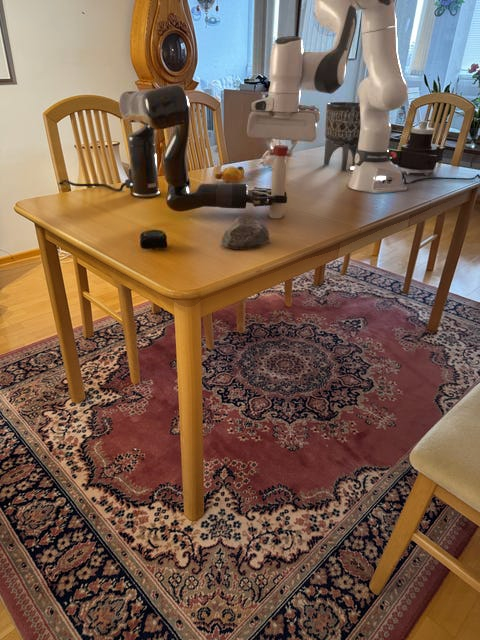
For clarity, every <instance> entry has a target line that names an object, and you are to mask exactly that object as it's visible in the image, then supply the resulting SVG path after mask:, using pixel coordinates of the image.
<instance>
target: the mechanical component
mask: <svg viewBox="0 0 480 640" xmlns="http://www.w3.org/2000/svg"><path fill="white" fill-rule="evenodd" d="M428 122H429V121H427V120H420V124H419V126H413V127H411V129H410V134H409V135H410V136H409V139H408V143H407V144H402V145H400V146H401V147H400V149H394V148H388V151H390V152H395V154H397V156H396V157H395V158H392V157H390V161H391V162H392V163H393V164H394V165H395V166H396V167H397V168H398V169H399V170H400V171H401V172H406V175H411V173H413V174H423V175H424V176H428V175H429V174H430V173H432V172H433V171H434V170H435V169H436V166H437V163H439V162H442V161H443V157H444V155H445V150H446V149H445V148H446V147H445V146H441V145H440V144H437V143H432V141H433V136H434V133H435V129H434V128H433V127H428Z"/></svg>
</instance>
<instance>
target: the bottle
mask: <svg viewBox="0 0 480 640" xmlns="http://www.w3.org/2000/svg"><path fill="white" fill-rule="evenodd" d="M286 161H287V160H286V156H276V159H275V161H274V165H273V168H272V171H271V187H270V189H271V195H282V196H284V194H285V192H286V181H287V162H286ZM284 205H285V203H274V204H272V206H269V217H270V218H271V219H282V218H283V217H284Z"/></svg>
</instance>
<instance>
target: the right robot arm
mask: <svg viewBox="0 0 480 640" xmlns="http://www.w3.org/2000/svg"><path fill="white" fill-rule="evenodd" d="M313 2H314V3H313V11H314V16H315V19H316V20H317V22H318V23H319V24H320V26H322V28H324V29H325V30H327V31H330V32H333V33H334V34H336V35H335V38H334V41H333V45H332V48H331V49H329V50H327V51H306V50H305V49H304V48H303V47H304V46H303V39H302V38H301V37H300V36H298V35H297V36H296V35H288V36H281V37H278V38H276V39H275V40H274V41H273V44H272V47H271V54H270V60H269V61H270V62H269V81H270V84H269V88H268V96H267V97H262V98H261V99H258V100H255V101H253V102H252V103H251V110H252V111H251V112H250V113H249V115H248V119H247V127H246V135H247V136H248V138H250V139H251V138H252V139H264V140H265V144H266V146H267V149H268V150H269V155H274V148H272V145H271V143H270V142H272V139H274V140H276V139H278V140H280V141H290V144H291V147H290V149H289V148H288V150H287V154H286V156H285V157H287V158H288V157H289V158H292V157H293V152H294V151H293V150H294V149H295V147H296V146H297V144H298V142H306V143H307V142H308V143H313V142H314V141H316V139H317V138H318V123H319V121H320V118H321V117H320V116H321V111H320V109H319V108H317V107H316V106H315V105H306V104H301V102H300V101H301V91H307V92H319V93H322V94H323V93H325V94H330V95H333V93H336V91H338V90H339V89H340V88H341V87H342V86H343V84H344V82H345V79H346V74H347V68H348V67H347V66H348V62H349V61H348V60H349V57H350V53H351V50H352V45H353V42H354V39H355V38H354V37H355V34H356V29H357V23H358V14H357V11H360V10H361V21H360V22H361V24H360V25H361V27H360V28H361V42H362V43H361V44H362V58H363V62H364V64H365V66H366V68H367V72H368V76H367V77H365V78H363V79H362V80H361V82H360V83H359V85H358V87H357V98H358V100H359V103H360V120H361V125H360V135H359V142H358V148H357V149H356V155H355V166H350V170H353V171H352V174H351V176H350V180H349V182H348V184H347V187H348V188H350V189H352V190H355V191H359V192H367V193H372V194H386V193H387V194H388V193H393V192H394V193H395V192H404V191H408V186H406V185H410V184H414V183H416V182H421V181H424V180H458V181H472V180H475V179H477V178H480V174H479V173H477V174H476V175H475V176H474V177H444V176H427V177H422V178H421V177H420V178H417V179H414V180H412V181H411V182H407V178H406V176H405V173H404V172H402V171H400V170H399V169H398V168H397V167H398V166H397V165H394V164H393V163H392V162H391V161H390V158H395V157H396V156H397V154H395V152H390V151H388V149H389V145H390V139H391V135H392V125H391V122H390V111H394V110H398V109H400V108H401V107H402V106H403V105H405V103H406V101H407V100H408V96H409V87H408V84H407V82H406V80H405V79H404V77H403V72H402V68H401V63H400V59H399V53H398V37H397V36H398V35H397V17H396V7H395V1H394V0H314V1H313Z"/></svg>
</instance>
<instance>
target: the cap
mask: <svg viewBox="0 0 480 640" xmlns="http://www.w3.org/2000/svg"><path fill="white" fill-rule="evenodd" d="M288 149H289V145H284V144H281V145H275V146H274V155H275V156H285V157H287V156H286V154H287V150H288Z"/></svg>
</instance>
